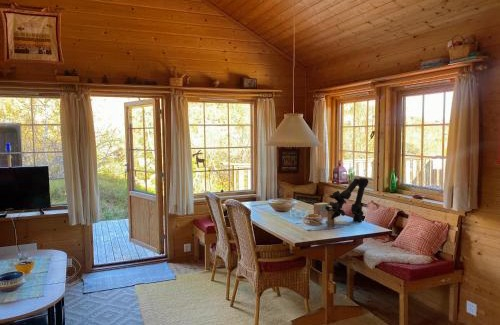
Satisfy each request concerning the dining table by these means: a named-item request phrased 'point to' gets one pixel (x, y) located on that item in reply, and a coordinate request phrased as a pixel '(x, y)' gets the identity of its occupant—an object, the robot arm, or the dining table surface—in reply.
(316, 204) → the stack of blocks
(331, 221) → the walnut pillar
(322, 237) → the dining table surface
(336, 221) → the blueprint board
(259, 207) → the dining table surface
